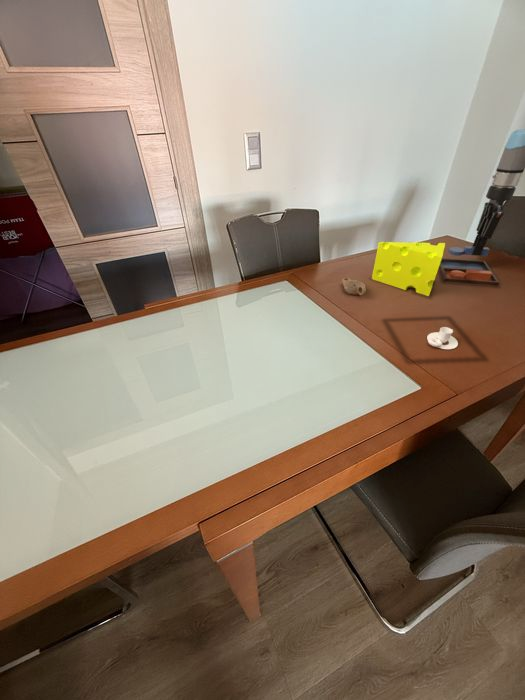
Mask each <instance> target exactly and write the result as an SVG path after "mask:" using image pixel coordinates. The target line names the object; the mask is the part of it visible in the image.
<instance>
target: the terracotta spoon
mask: <svg viewBox="0 0 525 700" xmlns="http://www.w3.org/2000/svg"><path fill="white" fill-rule="evenodd" d="M491 271H492V270H491ZM491 271H479V270H466V273H464V272H462V271H458V270H454V271H451V272H450V275H449V276H450V277H451V278H457V279H464V278H467V279H480V280H490V278H491V276H492V273H491Z"/></svg>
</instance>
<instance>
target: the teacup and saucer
mask: <svg viewBox="0 0 525 700" xmlns="http://www.w3.org/2000/svg"><path fill="white" fill-rule="evenodd" d="M453 333H454V329H453V328H451V327H447V326H441V327H440V328H439V331H437V332H436V331H435V332H430V333H428V334H427V337H426V340H427V343H428V344H429V345H430V346H432V347H434V348H438V349H442V350H453V349H456V348H457V347H458V346H459V342H458V340H457V339H456V338H455V337H454V336H452V334H453ZM447 342H448V343H447ZM446 343H447V344H446Z"/></svg>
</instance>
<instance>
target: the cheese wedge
mask: <svg viewBox="0 0 525 700" xmlns="http://www.w3.org/2000/svg"><path fill="white" fill-rule="evenodd" d="M445 247H446V242H438V244H437V245H434V244H431V243H430V242H409V241H408V242H407V241H405V242H403V241H402V242H401V241H399V242H398V241H378V245H377V250H376V255H375V259H374V265H373V270H372V275H371V280H373V281H376V282H379V283H383V284H385V285H389V286H392V287H395V288H398V289H401V290H404V291H407V290H408V289H409V288H413V289H415V293H417V294H420V295H424V296H427V297H430V294H431V291H432V288H433V284H434V282H435V280H436V277H437V274H438V271H439V265H440V262H441V260H442V258H443V255H444V250H445Z"/></svg>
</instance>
